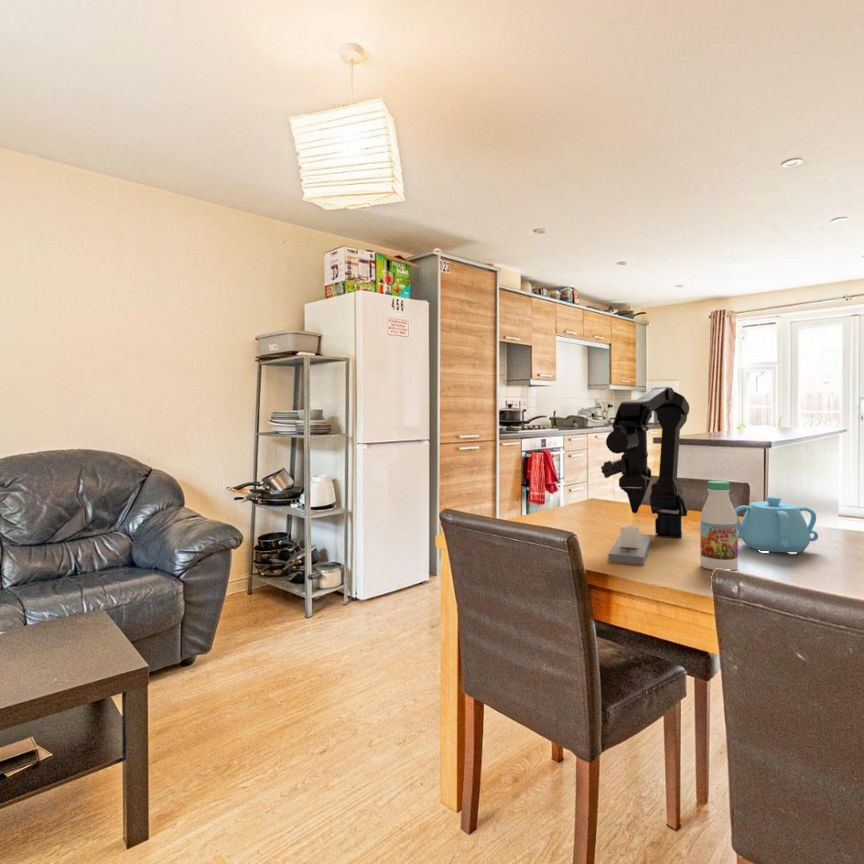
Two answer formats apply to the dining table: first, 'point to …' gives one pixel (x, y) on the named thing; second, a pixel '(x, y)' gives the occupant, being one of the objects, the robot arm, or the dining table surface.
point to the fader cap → (629, 536)
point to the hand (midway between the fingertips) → (636, 509)
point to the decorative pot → (776, 526)
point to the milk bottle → (718, 529)
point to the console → (631, 551)
